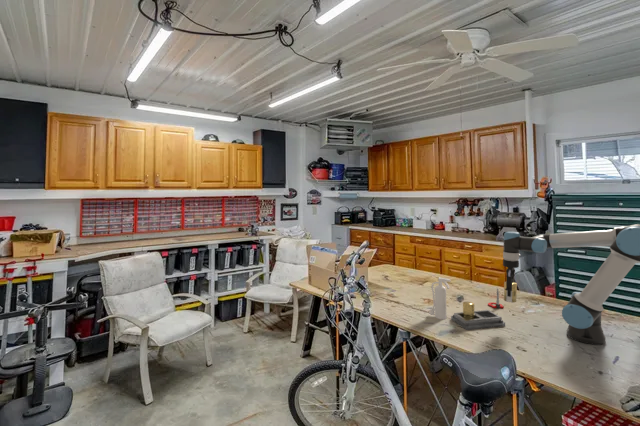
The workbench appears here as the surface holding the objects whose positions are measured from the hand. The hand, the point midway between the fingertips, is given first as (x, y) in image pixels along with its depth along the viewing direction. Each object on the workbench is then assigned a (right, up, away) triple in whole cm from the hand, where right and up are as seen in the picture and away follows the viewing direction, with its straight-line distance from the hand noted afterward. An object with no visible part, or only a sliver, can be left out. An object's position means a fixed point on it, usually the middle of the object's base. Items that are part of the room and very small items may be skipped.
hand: (509, 299), depth 173 cm
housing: (-14, -16, +8) cm, 22 cm away
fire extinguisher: (-33, -16, +17) cm, 40 cm away
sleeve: (0, 0, 0) cm, 0 cm away
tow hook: (+10, -13, +32) cm, 36 cm away
